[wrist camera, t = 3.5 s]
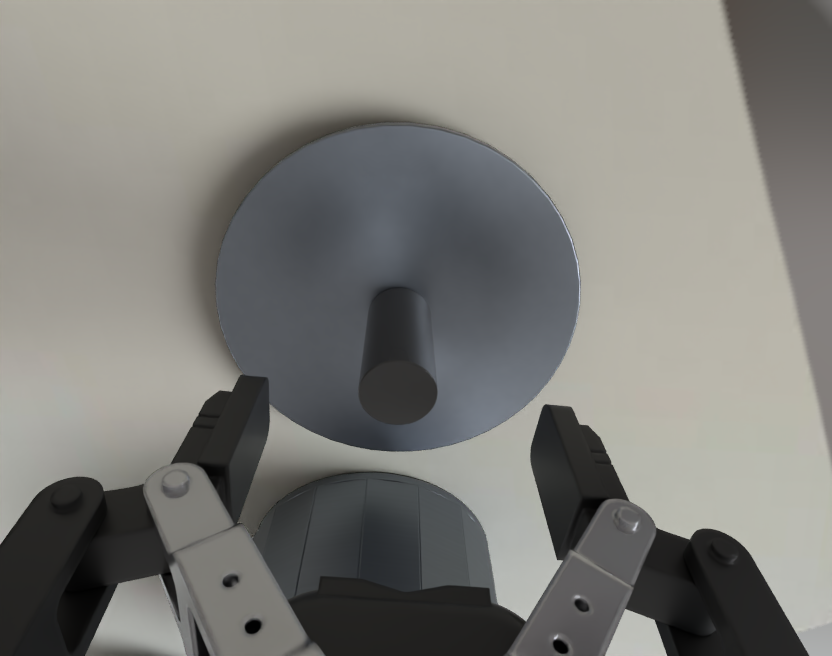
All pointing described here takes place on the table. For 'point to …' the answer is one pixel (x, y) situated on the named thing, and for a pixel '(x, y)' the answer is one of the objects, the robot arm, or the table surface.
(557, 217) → the lid
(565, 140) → the table surface
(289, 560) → the tin
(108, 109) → the table surface
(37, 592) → the robot arm
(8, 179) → the table surface
